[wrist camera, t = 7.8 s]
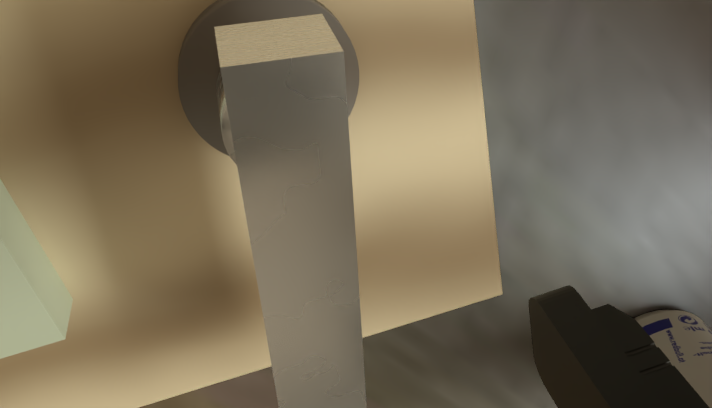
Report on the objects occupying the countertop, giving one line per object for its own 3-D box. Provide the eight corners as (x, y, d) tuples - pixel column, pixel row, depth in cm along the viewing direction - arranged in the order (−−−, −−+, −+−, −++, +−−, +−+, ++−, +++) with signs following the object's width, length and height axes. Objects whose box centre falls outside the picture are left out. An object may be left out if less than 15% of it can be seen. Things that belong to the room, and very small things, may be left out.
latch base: (468, 238, 23) (510, 307, 21) (-145, 424, 22) (-195, 526, 19) (375, -475, 13) (433, -543, 10) (-788, -214, 12) (-1108, -204, 9)
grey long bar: (318, -10, 14) (356, 50, 11) (347, 339, 20) (376, 440, 17) (200, 4, 14) (207, 68, 11) (263, 356, 19) (279, 461, 16)
